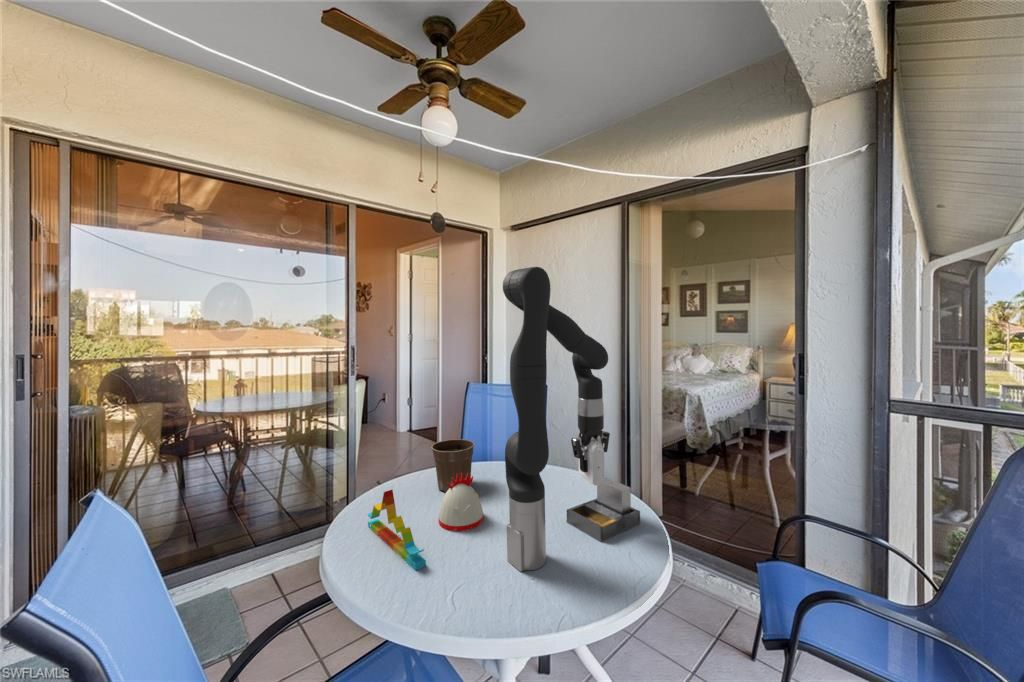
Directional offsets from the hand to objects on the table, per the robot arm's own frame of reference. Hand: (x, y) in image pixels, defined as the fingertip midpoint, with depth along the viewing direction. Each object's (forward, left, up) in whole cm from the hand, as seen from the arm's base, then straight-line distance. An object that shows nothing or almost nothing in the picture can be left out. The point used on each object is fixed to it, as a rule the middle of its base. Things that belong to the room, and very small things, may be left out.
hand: (591, 469), depth 121 cm
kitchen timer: (-29, +28, -18) cm, 44 cm away
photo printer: (0, 0, -3) cm, 3 cm away
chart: (-51, +27, -18) cm, 60 cm away
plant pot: (-19, +53, -18) cm, 59 cm away
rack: (+5, 0, -18) cm, 19 cm away
